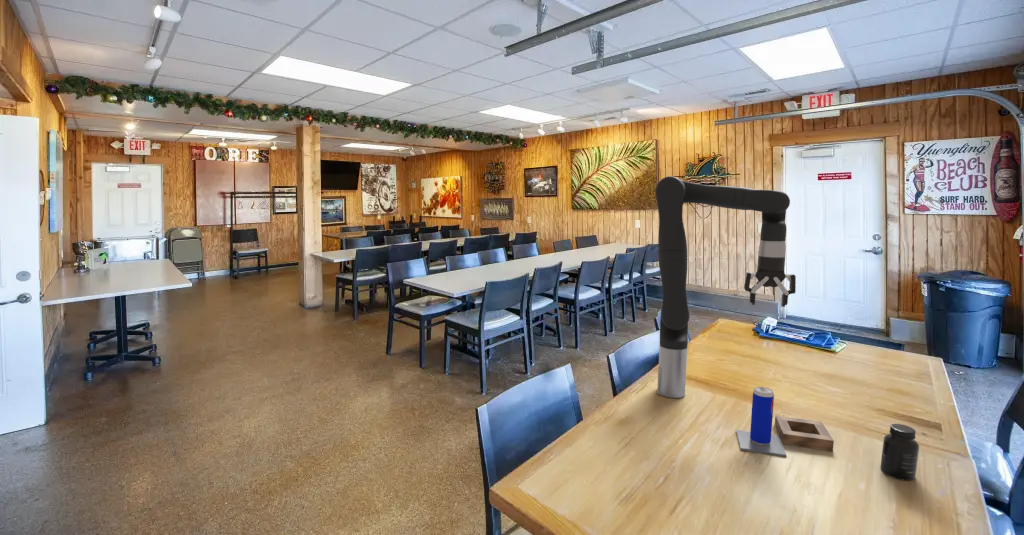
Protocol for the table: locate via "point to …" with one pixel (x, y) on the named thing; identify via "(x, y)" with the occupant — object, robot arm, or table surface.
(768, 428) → the beverage can
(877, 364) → the table surface
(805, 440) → the walnut holder
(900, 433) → the supplement bottle
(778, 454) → the slate coaster
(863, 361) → the table surface
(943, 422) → the table surface
